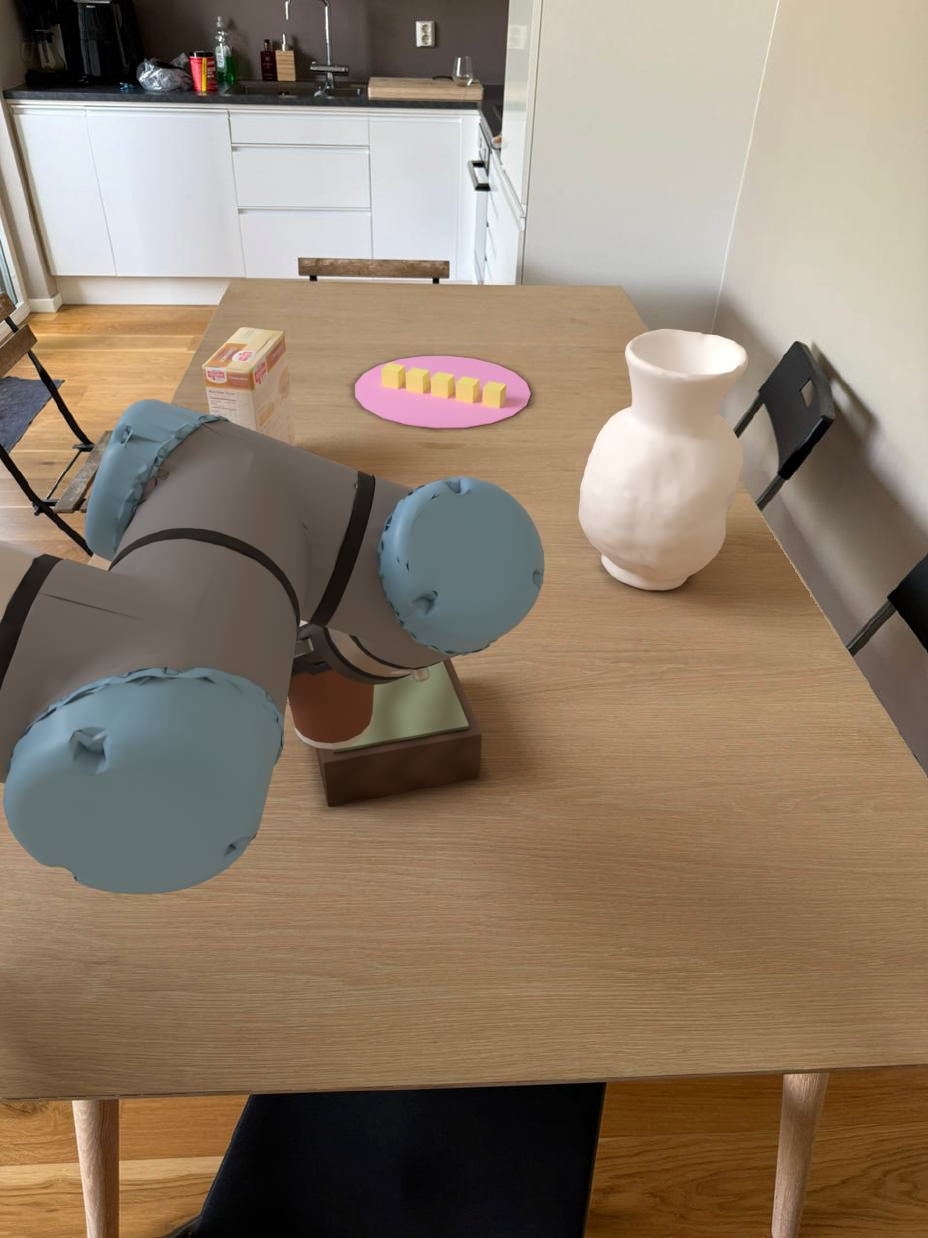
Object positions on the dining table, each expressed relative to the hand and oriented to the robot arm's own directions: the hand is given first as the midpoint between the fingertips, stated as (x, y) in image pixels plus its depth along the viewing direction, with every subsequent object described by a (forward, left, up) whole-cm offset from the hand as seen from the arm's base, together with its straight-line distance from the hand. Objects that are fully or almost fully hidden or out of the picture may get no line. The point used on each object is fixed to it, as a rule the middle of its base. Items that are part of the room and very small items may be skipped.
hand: (317, 662), depth 73 cm
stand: (+7, +8, -18) cm, 21 cm away
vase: (+46, +30, -18) cm, 58 cm away
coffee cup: (+1, -3, -4) cm, 5 cm away
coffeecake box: (0, +68, -18) cm, 70 cm away
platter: (+35, +92, -18) cm, 100 cm away
